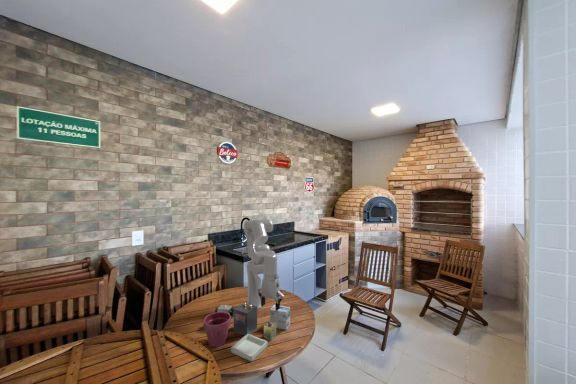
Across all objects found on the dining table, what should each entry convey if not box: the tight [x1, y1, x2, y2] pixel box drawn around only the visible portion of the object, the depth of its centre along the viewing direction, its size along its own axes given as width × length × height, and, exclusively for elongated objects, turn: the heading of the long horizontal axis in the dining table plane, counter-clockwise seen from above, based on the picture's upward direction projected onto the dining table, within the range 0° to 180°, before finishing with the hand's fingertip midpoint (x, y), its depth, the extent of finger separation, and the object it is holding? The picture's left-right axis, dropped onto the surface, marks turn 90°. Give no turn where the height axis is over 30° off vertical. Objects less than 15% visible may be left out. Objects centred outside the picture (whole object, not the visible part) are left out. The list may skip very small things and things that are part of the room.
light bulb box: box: [269, 304, 291, 331], centre depth 147 cm, size 11×7×11 cm, turn 71°
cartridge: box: [263, 320, 277, 341], centre depth 136 cm, size 5×5×8 cm
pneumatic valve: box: [214, 304, 235, 320], centre depth 148 cm, size 6×12×12 cm, turn 78°
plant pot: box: [203, 312, 232, 348], centre depth 131 cm, size 14×14×13 cm
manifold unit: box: [233, 301, 258, 337], centre depth 142 cm, size 9×10×15 cm
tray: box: [230, 334, 269, 363], centre depth 125 cm, size 13×13×2 cm
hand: (270, 307), depth 135 cm, fingers open, 9 cm apart
